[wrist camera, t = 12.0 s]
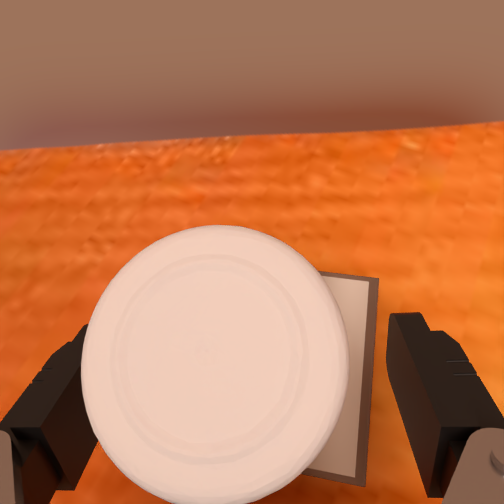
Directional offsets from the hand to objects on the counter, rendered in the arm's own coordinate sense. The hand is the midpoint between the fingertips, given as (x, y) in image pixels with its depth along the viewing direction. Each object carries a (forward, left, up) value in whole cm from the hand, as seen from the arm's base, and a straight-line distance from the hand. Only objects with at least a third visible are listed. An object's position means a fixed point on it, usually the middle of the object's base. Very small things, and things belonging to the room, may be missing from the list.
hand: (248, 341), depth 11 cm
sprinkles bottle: (0, -1, -8) cm, 8 cm away
